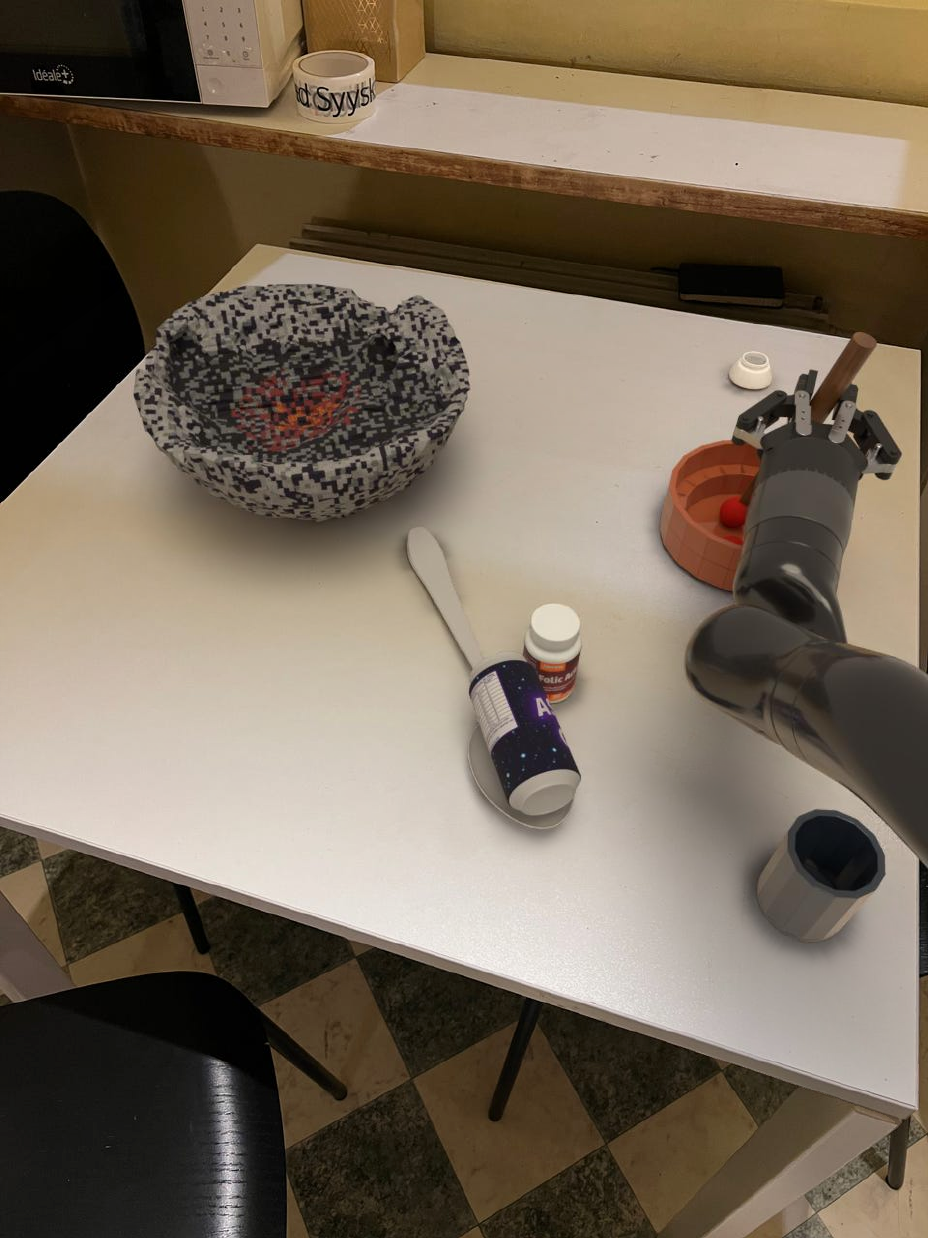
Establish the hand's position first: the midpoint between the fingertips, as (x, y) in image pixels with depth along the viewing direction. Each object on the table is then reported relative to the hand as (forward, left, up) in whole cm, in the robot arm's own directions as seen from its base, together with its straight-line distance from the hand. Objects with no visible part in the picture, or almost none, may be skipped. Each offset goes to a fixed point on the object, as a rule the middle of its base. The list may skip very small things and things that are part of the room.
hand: (827, 382), depth 76 cm
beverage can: (+15, +41, -11) cm, 45 cm away
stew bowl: (+3, +4, -16) cm, 17 cm away
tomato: (+4, +8, -14) cm, 17 cm away
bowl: (+47, +7, -17) cm, 51 cm away
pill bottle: (+18, +27, -17) cm, 36 cm away
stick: (+3, +3, -13) cm, 14 cm away
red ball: (+4, +2, -14) cm, 15 cm away
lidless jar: (+4, -24, -17) cm, 30 cm away
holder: (-4, +41, -16) cm, 44 cm away
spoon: (+25, +27, -17) cm, 40 cm away
